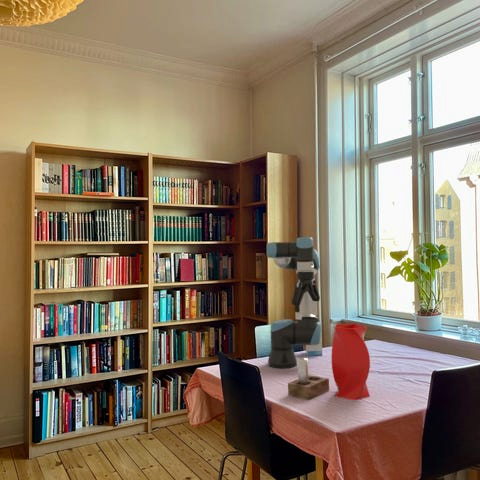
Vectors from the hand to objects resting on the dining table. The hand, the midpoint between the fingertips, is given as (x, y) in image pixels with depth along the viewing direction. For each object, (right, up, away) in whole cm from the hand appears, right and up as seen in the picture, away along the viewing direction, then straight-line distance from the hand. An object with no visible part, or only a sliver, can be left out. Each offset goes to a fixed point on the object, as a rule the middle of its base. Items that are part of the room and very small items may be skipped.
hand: (306, 317), depth 212 cm
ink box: (+12, -31, +55) cm, 64 cm away
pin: (-4, -27, -22) cm, 36 cm away
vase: (+15, -28, -22) cm, 39 cm away
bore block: (-2, -28, -19) cm, 34 cm away
